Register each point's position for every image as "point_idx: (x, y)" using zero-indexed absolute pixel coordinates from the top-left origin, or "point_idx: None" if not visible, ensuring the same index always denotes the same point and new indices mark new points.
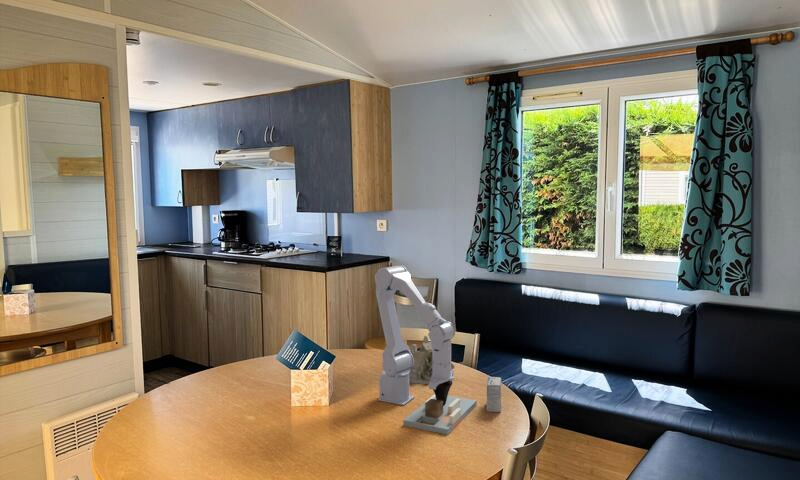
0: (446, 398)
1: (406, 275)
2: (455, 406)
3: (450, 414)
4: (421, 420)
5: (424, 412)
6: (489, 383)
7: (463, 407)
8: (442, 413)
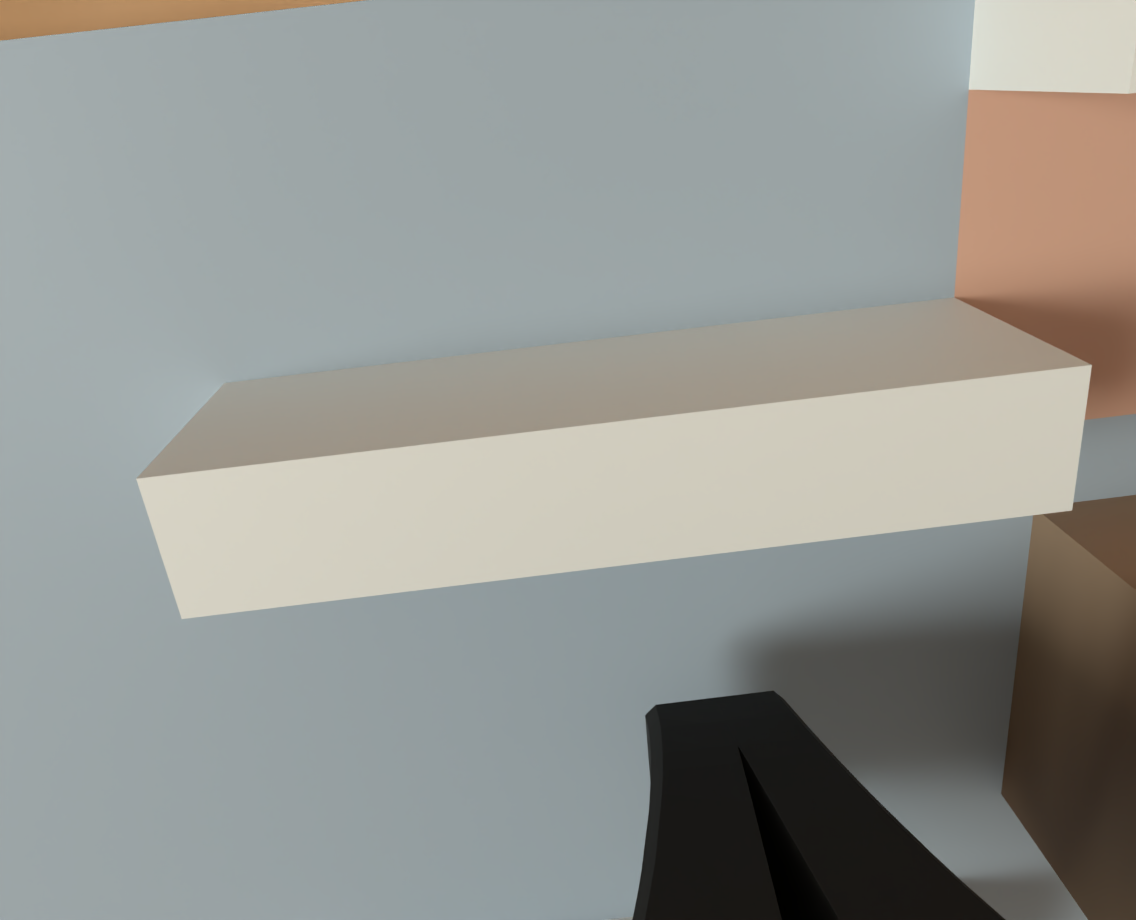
0: (711, 832)
1: None
2: (660, 374)
3: (1000, 312)
4: None
5: None
6: None
7: (271, 225)
8: (1088, 512)
